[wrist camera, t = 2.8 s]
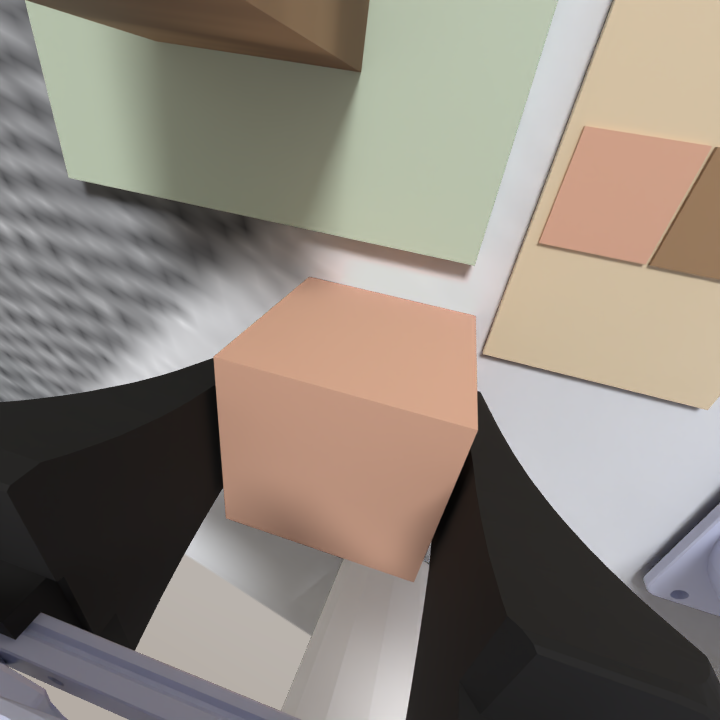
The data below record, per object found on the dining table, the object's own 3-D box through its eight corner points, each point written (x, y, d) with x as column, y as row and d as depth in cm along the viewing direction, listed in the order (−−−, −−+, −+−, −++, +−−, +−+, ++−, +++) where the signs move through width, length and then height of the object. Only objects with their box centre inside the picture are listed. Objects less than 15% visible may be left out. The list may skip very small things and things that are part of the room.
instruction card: (1097, -75, 5) (1128, -86, 5) (704, 405, 10) (709, 412, 10) (653, -108, 6) (660, -118, 6) (482, 350, 11) (482, 355, 11)
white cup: (306, 539, 18) (227, 728, 12) (446, 538, 16) (430, 777, 10) (356, 621, 21) (310, 808, 15) (482, 631, 18) (487, 863, 12)
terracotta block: (475, 315, 11) (477, 430, 6) (432, 442, 13) (413, 582, 9) (309, 276, 11) (213, 356, 7) (299, 404, 14) (225, 518, 10)
